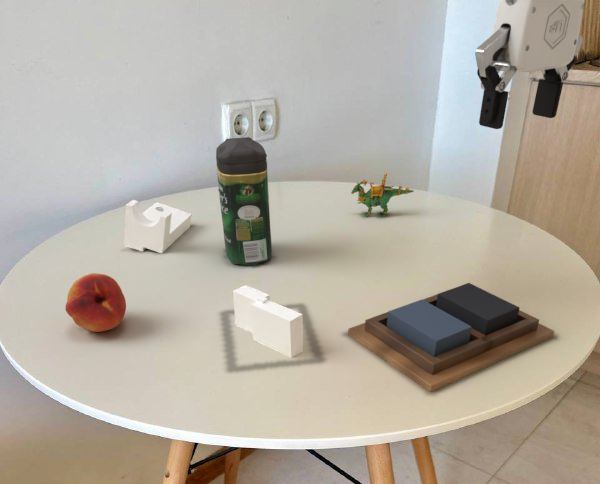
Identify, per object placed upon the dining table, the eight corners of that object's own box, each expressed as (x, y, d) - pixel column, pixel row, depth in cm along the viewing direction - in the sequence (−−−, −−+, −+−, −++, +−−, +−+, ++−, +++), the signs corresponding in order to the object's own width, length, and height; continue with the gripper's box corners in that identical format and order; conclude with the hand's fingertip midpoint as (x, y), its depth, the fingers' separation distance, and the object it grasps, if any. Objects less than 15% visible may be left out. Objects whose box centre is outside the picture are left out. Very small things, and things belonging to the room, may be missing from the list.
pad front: (386, 331, 79) (387, 311, 77) (419, 318, 81) (422, 299, 79) (433, 362, 72) (436, 341, 71) (468, 347, 75) (472, 326, 73)
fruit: (69, 346, 79) (53, 291, 74) (75, 317, 85) (61, 265, 80) (130, 339, 80) (118, 285, 75) (131, 311, 86) (121, 259, 81)
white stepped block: (321, 360, 75) (321, 320, 71) (231, 370, 73) (227, 330, 70) (300, 305, 87) (300, 269, 83) (223, 313, 85) (219, 276, 82)
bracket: (161, 258, 104) (165, 218, 99) (123, 245, 104) (126, 204, 99) (189, 231, 114) (194, 193, 109) (155, 219, 114) (158, 181, 109)
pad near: (434, 313, 82) (437, 293, 80) (465, 301, 85) (468, 282, 83) (483, 340, 76) (487, 320, 74) (515, 327, 79) (520, 307, 77)
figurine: (350, 212, 118) (351, 170, 113) (410, 212, 117) (415, 170, 112) (350, 218, 115) (352, 175, 110) (412, 218, 115) (416, 175, 110)
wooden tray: (347, 335, 80) (348, 318, 78) (464, 292, 89) (466, 277, 88) (430, 392, 69) (432, 375, 68) (552, 337, 79) (557, 320, 77)
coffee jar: (223, 246, 105) (212, 135, 94) (267, 243, 106) (261, 132, 95) (227, 269, 97) (216, 150, 86) (275, 265, 98) (269, 147, 87)
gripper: (524, -53, 57) (492, 137, 67) (631, -54, 64) (587, 117, 74) (466, -51, 62) (445, 125, 72) (572, -53, 69) (538, 107, 79)
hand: (517, 121), depth 73 cm, fingers open, 9 cm apart
